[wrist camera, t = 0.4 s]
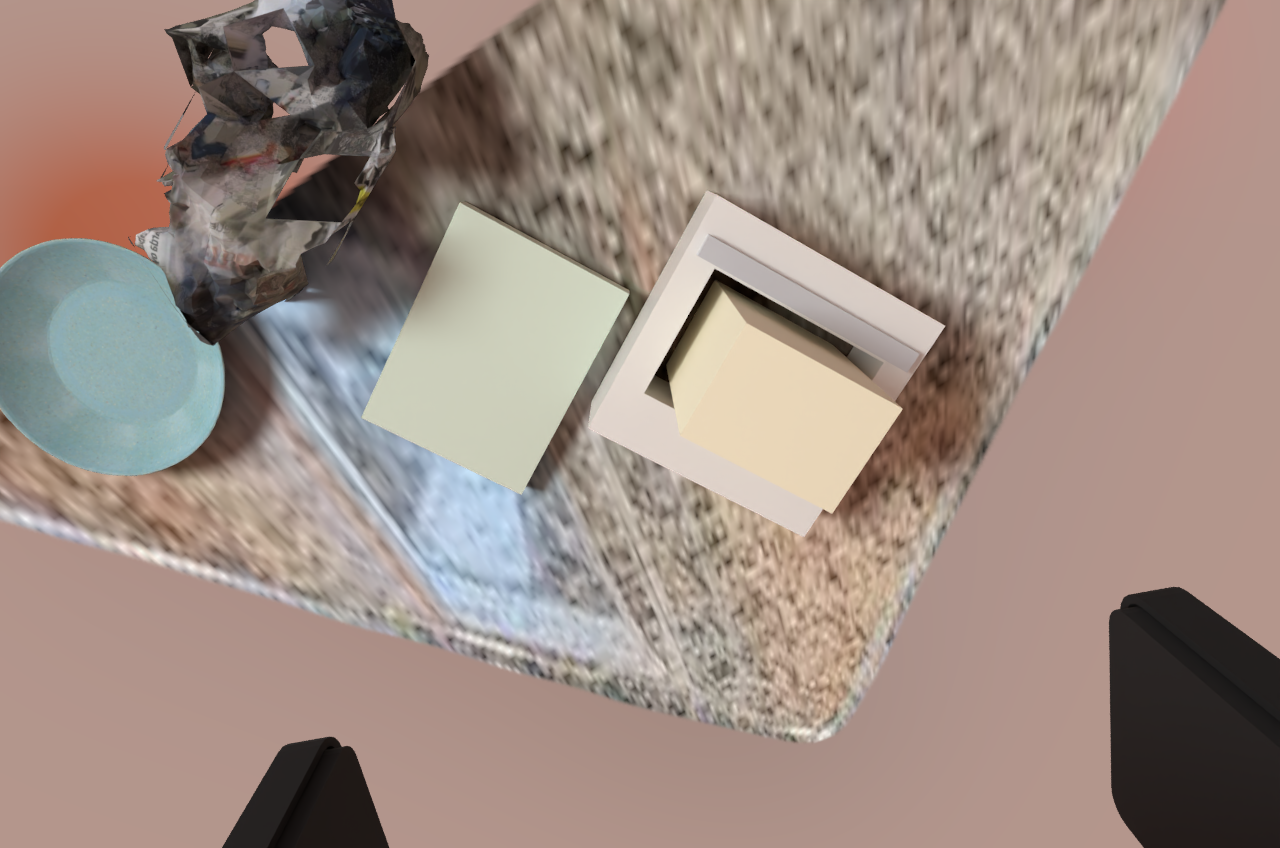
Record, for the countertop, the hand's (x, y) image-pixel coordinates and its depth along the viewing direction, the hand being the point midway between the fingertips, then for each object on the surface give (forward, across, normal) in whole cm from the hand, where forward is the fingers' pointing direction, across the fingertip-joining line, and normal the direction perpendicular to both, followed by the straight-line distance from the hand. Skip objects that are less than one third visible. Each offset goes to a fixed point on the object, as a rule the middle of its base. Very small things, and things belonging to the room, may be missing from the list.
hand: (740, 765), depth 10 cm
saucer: (+33, +26, -3) cm, 42 cm away
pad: (+32, +8, 0) cm, 33 cm away
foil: (+32, +14, -11) cm, 37 cm away
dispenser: (+32, -5, +3) cm, 33 cm away
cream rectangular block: (+32, -5, +3) cm, 33 cm away
